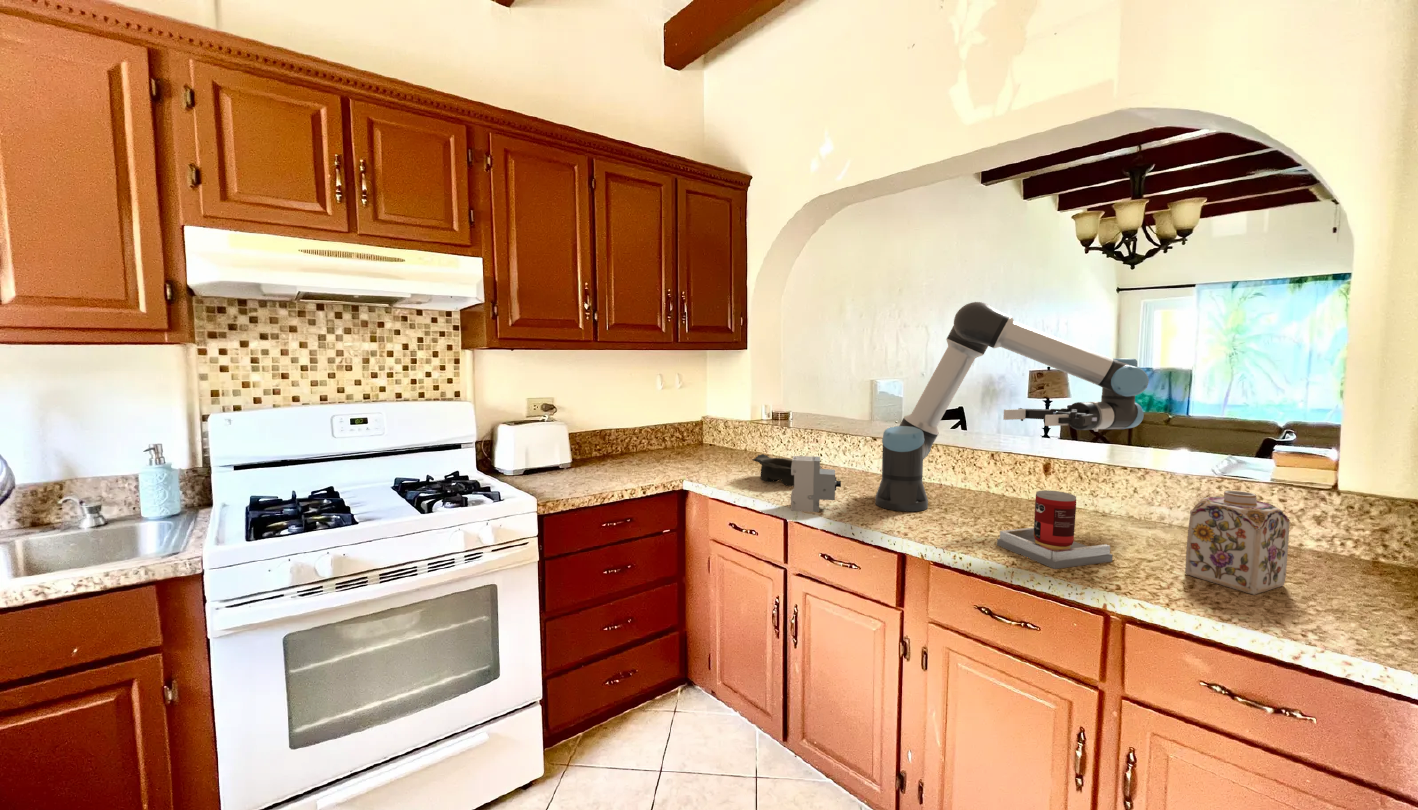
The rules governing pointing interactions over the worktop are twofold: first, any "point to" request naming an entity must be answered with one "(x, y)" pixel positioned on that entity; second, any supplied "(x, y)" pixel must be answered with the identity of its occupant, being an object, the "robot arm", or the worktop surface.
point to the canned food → (1054, 518)
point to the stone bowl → (776, 469)
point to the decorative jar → (1238, 542)
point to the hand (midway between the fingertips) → (1024, 417)
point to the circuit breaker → (811, 484)
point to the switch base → (1076, 556)
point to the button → (1053, 546)
